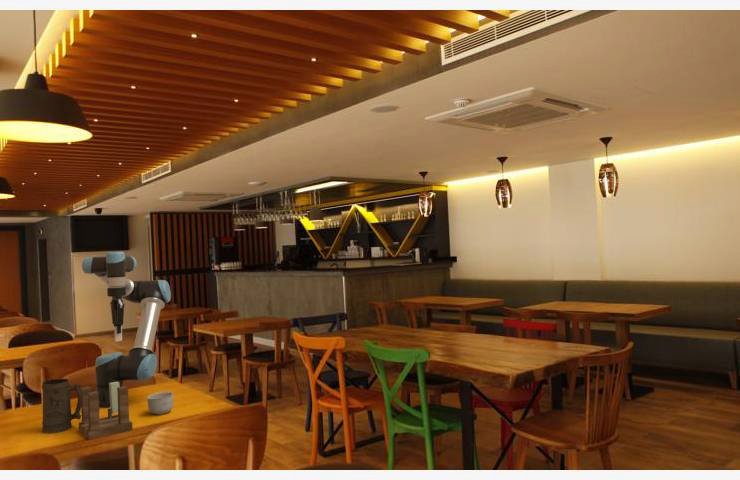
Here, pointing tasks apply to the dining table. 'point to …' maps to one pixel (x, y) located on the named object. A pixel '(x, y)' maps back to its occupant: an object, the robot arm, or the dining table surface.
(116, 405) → the hinged leg
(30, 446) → the dining table surface
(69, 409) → the beer stein
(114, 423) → the wooden stand
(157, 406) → the teacup
